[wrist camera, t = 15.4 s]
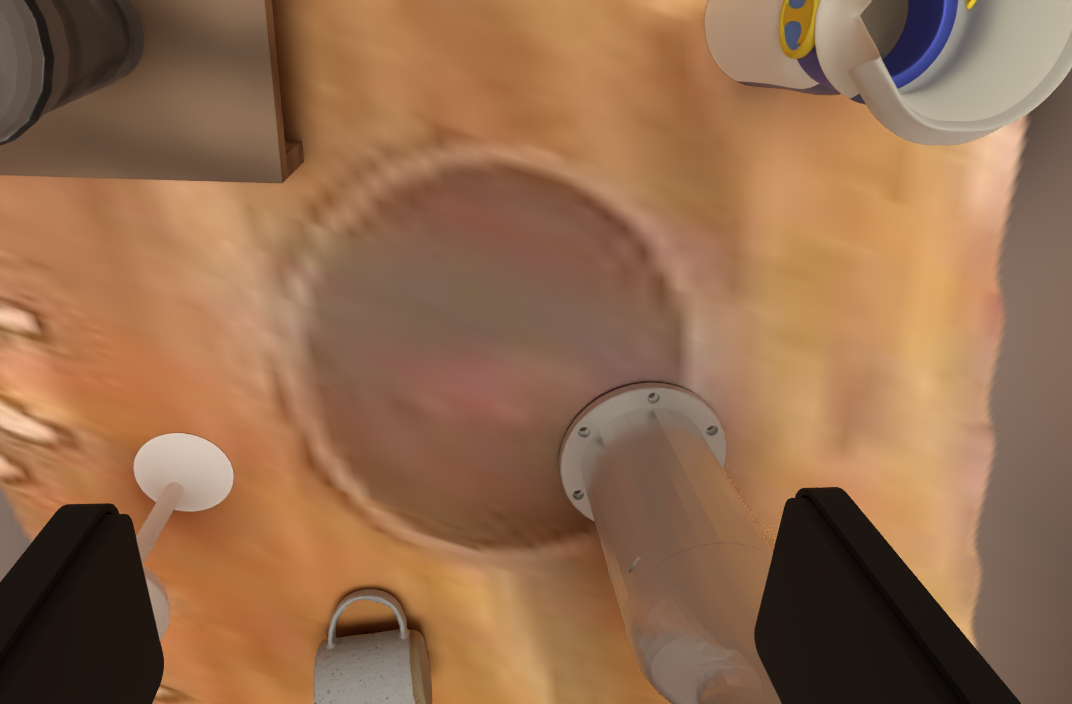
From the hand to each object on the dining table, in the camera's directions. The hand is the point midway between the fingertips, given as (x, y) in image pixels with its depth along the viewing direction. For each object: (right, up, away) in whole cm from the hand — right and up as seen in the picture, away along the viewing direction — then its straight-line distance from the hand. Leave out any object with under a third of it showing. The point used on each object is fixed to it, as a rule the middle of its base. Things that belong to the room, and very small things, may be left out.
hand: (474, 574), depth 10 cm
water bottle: (+14, +23, +32) cm, 41 cm away
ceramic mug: (-13, -20, +49) cm, 54 cm away
